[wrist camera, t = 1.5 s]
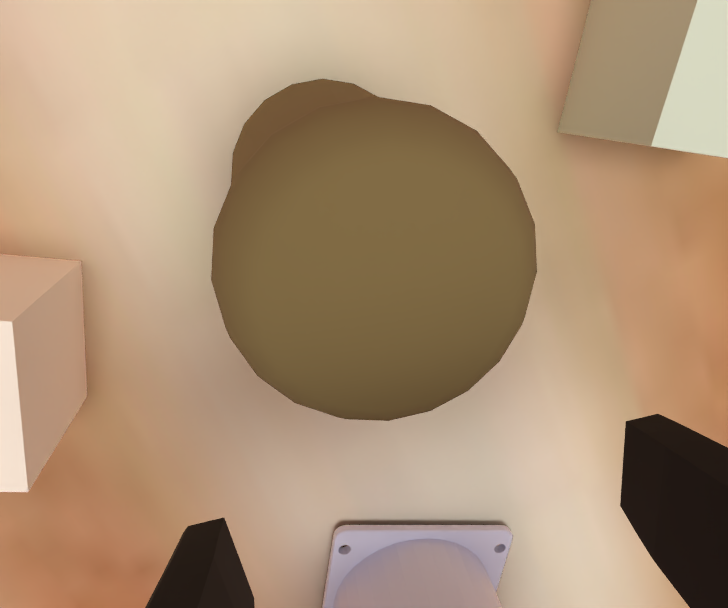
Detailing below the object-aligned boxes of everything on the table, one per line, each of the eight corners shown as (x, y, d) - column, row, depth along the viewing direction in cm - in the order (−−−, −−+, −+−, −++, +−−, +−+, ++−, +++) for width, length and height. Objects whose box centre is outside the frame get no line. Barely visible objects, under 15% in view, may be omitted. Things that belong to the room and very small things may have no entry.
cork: (198, 119, 16) (65, 165, 6) (385, 50, 16) (565, -17, 6) (274, 293, 19) (273, 536, 8) (438, 232, 19) (629, 400, 9)
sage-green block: (684, 151, 19) (814, 171, 14) (555, 131, 18) (651, 145, 13) (738, -8, 17) (906, -44, 13) (599, -39, 16) (726, -90, 12)
